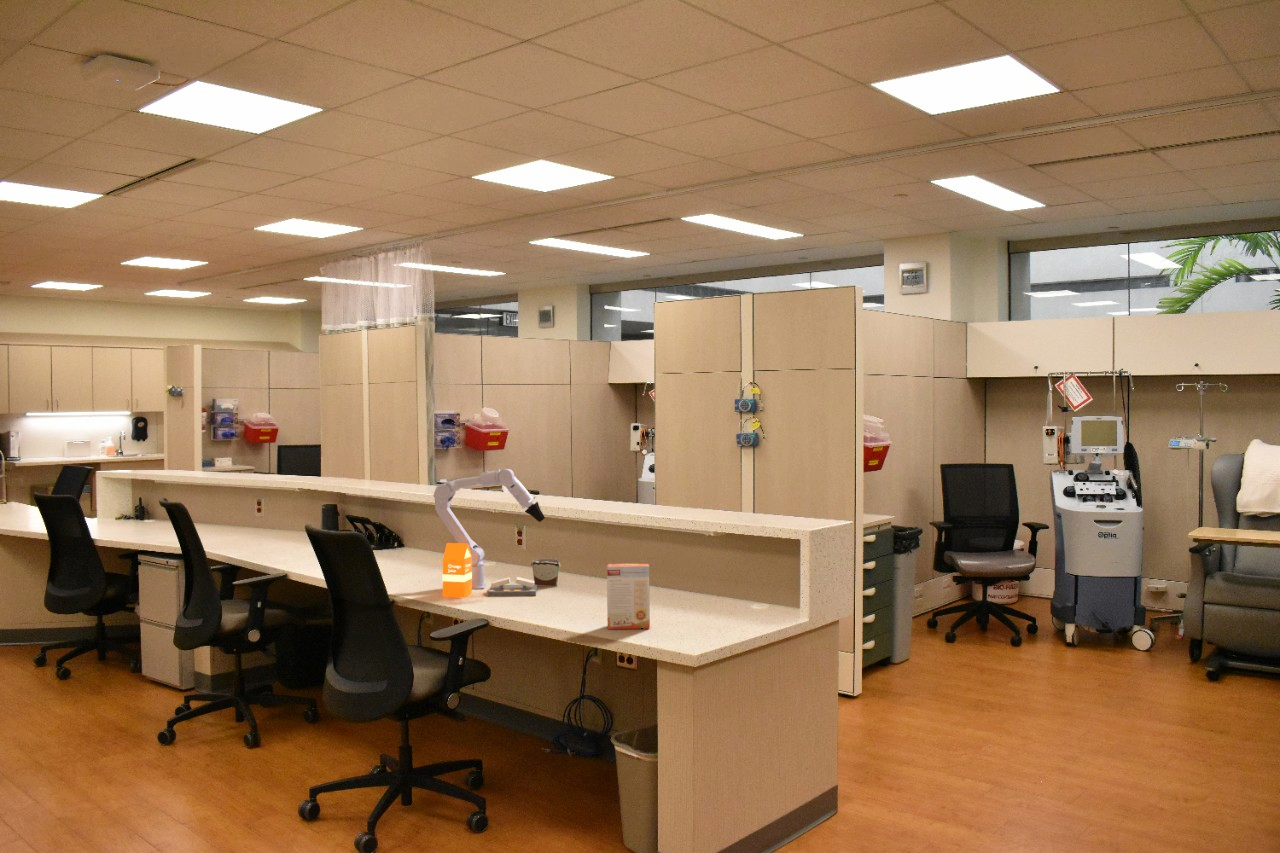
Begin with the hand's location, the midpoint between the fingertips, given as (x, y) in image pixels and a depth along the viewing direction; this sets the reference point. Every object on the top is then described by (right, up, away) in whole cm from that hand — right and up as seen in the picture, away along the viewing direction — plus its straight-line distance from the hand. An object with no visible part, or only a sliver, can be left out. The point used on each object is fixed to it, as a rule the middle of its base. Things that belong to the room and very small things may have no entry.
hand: (542, 520), depth 380 cm
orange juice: (-31, -28, -13) cm, 44 cm away
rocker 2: (-6, -24, -7) cm, 26 cm away
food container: (+1, -27, +8) cm, 28 cm away
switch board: (-11, -27, -8) cm, 30 cm away
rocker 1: (-15, -24, -8) cm, 30 cm away
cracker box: (+35, -29, -64) cm, 78 cm away
